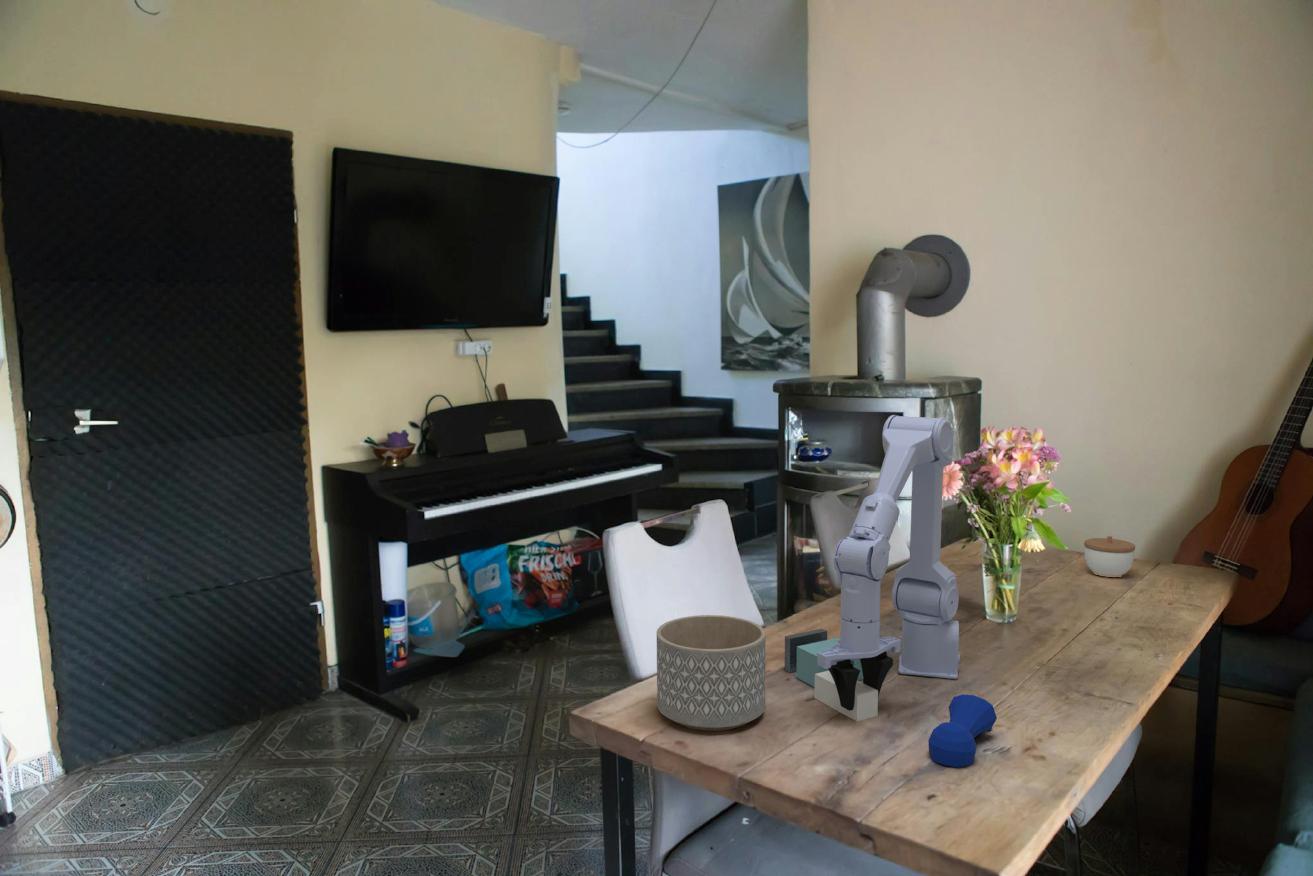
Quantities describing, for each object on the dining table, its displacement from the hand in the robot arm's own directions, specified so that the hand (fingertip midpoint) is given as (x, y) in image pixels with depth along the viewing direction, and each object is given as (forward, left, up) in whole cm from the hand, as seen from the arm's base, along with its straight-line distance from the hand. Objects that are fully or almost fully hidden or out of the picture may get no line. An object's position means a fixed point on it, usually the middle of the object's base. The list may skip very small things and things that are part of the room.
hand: (858, 704), depth 134 cm
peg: (+2, -2, -2) cm, 3 cm away
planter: (+22, +5, -2) cm, 22 cm away
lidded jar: (-51, -96, -2) cm, 109 cm away
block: (+6, -13, -1) cm, 14 cm away
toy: (-14, +7, -2) cm, 16 cm away
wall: (+10, -17, -1) cm, 20 cm away
